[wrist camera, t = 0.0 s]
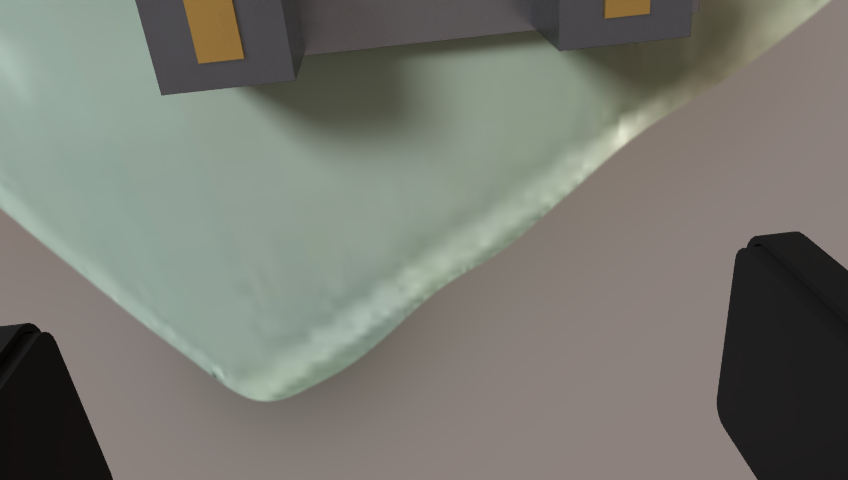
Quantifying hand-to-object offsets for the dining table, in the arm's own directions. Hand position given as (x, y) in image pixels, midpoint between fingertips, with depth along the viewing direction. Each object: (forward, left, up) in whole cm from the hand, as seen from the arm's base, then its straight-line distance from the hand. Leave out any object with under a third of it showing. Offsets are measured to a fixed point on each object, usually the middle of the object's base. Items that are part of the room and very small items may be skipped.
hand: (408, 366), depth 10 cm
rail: (-1, +3, -31) cm, 31 cm away
